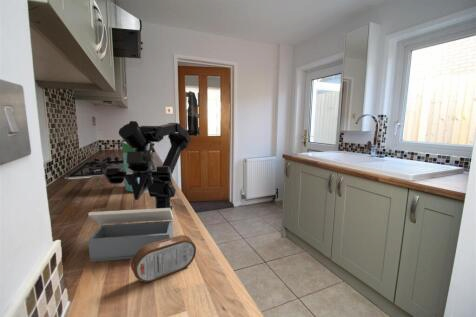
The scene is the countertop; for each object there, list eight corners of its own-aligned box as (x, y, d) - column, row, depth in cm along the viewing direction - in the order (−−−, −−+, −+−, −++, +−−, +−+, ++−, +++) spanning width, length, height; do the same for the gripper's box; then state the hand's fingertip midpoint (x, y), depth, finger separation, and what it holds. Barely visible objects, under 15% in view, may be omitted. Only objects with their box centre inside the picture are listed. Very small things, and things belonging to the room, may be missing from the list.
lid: (100, 224, 67) (101, 221, 68) (173, 219, 71) (173, 217, 71) (88, 215, 60) (88, 212, 60) (170, 210, 63) (170, 207, 64)
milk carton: (136, 192, 115) (132, 142, 111) (125, 189, 120) (121, 141, 116) (151, 188, 123) (148, 141, 119) (140, 185, 128) (137, 140, 123)
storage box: (103, 244, 68) (101, 225, 67) (173, 238, 72) (172, 220, 71) (90, 261, 60) (87, 240, 59) (170, 254, 63) (169, 234, 62)
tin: (192, 259, 62) (192, 230, 60) (198, 265, 59) (197, 234, 58) (131, 282, 53) (129, 248, 51) (135, 290, 50) (132, 254, 49)
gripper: (103, 141, 69) (91, 187, 60) (169, 140, 72) (166, 184, 63) (114, 162, 78) (105, 205, 69) (172, 161, 81) (170, 202, 72)
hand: (136, 199), depth 68 cm, fingers closed
